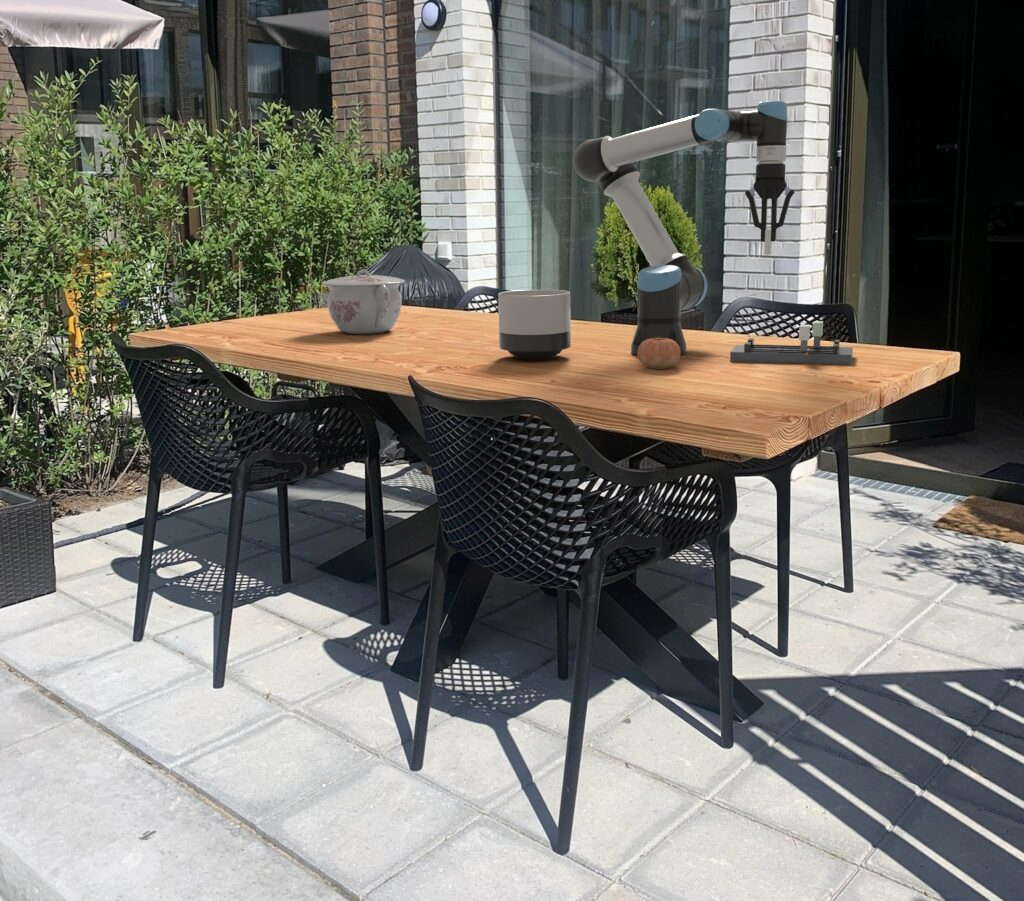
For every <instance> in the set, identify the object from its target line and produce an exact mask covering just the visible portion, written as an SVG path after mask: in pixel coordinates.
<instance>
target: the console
mask: <svg viewBox="0 0 1024 901" xmlns="http://www.w3.org/2000/svg"><path fill="white" fill-rule="evenodd" d="M840 341H841V340H840V339H834V341H833V342H834V343H833V345H832V346H831V345H820V347H813V346H814V345H807V351H800V347H801V345H789V344H788V345H787V344H755V338H754V337H753V338H752V337H749V338H748V339H747V341H746V342H745V343H744V344H736V345H735V346H734V347H733V349H732V350H731V351H730V353H729V358H730V359H729V361H730V362H734V363H735V362H736V363H766V364H767V363H768V364H769V363H774V364H805V365H806V364H807V365H808V364H810V365H811V364H812V365H813V364H814V365H843V366H845V365H846V366H849V365H850V366H851V365H852V362H853V353H854V347H853V346H847V347H846V346H840Z"/></svg>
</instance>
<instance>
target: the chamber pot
mask: <svg viewBox="0 0 1024 901" xmlns="http://www.w3.org/2000/svg"><path fill="white" fill-rule="evenodd" d="M363 273H364V274H363ZM405 282H406V280H405V279H403V278H400V277H396V276H395V277H394V276H390V275H389V276H388V275H381V274H380V275H379V274H370V272H369V271H368V270H367V269H364V268H362V269H360V270H358V271H357V272H356V274H354V275H348V276H340V277H336V278H332V279H327V280H325V281H323V282H322V283H321V285H322V286H324V287H327V288H328V290H329V293H328V295H327V297H326V306H327V308H328V309H327V310H328V312H329V313H328V314H329V317H330V319H331V320H332V322H333V323H334V325H335V327H336V328H337V329H338V330H339V331H341V332H343V333H346V334H348V335H358V336H359V335H377V334H383V333H386V332H388V331H391V330H392V329H393V328H394V326H395V325H396V323H397V321H398V319H399V317H400V314H401V311H402V309H401V308H402V302H403V301H402V300H403V298H402V294H401V291H399V286H400V284H404V283H405Z"/></svg>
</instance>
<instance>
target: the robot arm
mask: <svg viewBox="0 0 1024 901" xmlns="http://www.w3.org/2000/svg"><path fill="white" fill-rule="evenodd" d="M787 128H788V106H787V102H785V101H782V100H766V101H760V102H758V104H757V108H756V110H749V111H748V110H747V111H734V110H728V109H727V110H726V109H719V108H717V107H716V108H715V107H713V108H707V109H704V110H702V111H701V112H700V113H698V114H695V115H691V116H687V117H683V118H680V119H677V120H672V121H670V122H665V123H663V124H659V125H655V126H651V127H648V128H645V129H641V130H638V131H634V132H630V133H627V134H624V135H620V136H617V137H611V136H610V135H606V136H602V137H598V138H594V139H588V140H585V141H583V142H582V143H581V144H579V146H578V147H577V149H575V152H574V155H573V159H572V160H573V167H574V170H575V172H576V174H577V175H578V176H579V177H580V178H581V179H583V180H584V181H587V182H591V183H597V184H598V185H599V187H600V189H601V191H602V193H603V195H604V196H607V197H611V198H612V199H613V201H614V203H615V205H616V206H617V208H618V210H619V213H620V214H621V216H622V218H623V219H624V221H625V223H626V224H627V226H628V228H629V230H630V231H631V233H632V235H633V237H634V238H635V241H636V242H637V244H638V246H639V247H640V249H641V252H642V253H643V254H644V256H645V258H646V261H647V262H648V263H649V265H650V266H648V267H644V268H642V269H641V270H640V271H639V272H638V275H637V282H636V285H637V286H636V287H637V327H636V330H635V332H634V334H633V338H632V342H631V346H630V353H631V354H633V355H636V356H638V355H637V351H638V348H639V346H640V344H641V343H642V342H643V341H645V340H647V339H650V338H654V337H655V338H658V336H659V338H668V339H671V340H674V341H675V342H676V343H677V344H678V345H679V348H680V356H681V355H685V354H687V342H686V340H685V335H684V332H683V330H682V325H681V311H687V310H690V309H692V308H694V307H696V306H698V305H699V304H701V302H703V300H704V299H705V296H706V295H707V291H708V281H707V277H706V275H705V274H704V273H703V271H702V270H701V269H700V268H698V267H695V266H693V265H692V263H691V261H690V259H689V257H688V256H687V255H686V254H684V253H680V252H679V251H678V249H677V247H676V246H675V244H674V242H673V240H672V239H671V237H670V235H669V233H668V231H667V230H666V228H665V226H664V225H663V223H662V221H661V219H660V217H659V216H658V214H657V212H656V210H655V208H654V207H653V205H652V203H651V201H650V199H649V198H648V196H647V195H646V193H645V190H644V189H643V188H642V186H641V184H640V182H639V179H640V175H641V172H640V171H639V169H638V162H640V161H644V160H648V159H651V158H654V157H658V156H661V155H666V154H669V153H673V152H676V151H680V150H683V149H687V148H688V149H689V148H691V147H694V146H699V145H704V144H707V143H712V142H715V141H716V142H717V143H719V142H720V143H730V142H744V141H756V154H755V155H756V156H755V157H756V159H755V160H756V161H755V162H757V164H756V165H755V181H754V183H753V187H752V188H750V189H748V190H746V191H745V192H744V195H745V196H746V198H747V199H748V202H749V206H750V212H751V218H752V222H753V225H754V227H755V228H758V229H760V242H763V243H764V255H765V256H766V255H772V242H773V243H774V242H776V240H777V229H779V228H780V227H783V226H784V223H785V220H786V217H787V212H788V209H789V206H790V201H791V199H792V197H793V196H794V194H795V190H794V189H791V188H790V187H789V186H788V185H787V184H788V183H787V181H786V164H785V163H784V162H785V161H787V160H786V157H787V131H788V130H787ZM755 192H756V194H757V196H759V198H760V199H761V210H760V211H761V214H760V215H761V216H760V217H761V218H760V220H759V216H758V214H759V213H758V210H757V206H756V205H757V204H756V200H755V198H754V197H755V196H756V194H755ZM783 193H784V195H785V198H784V201H783V204H782V208H781V211H780V214H779V216H780V217H779V220H777V219H778V218H777V217H778V199H780V197H781V195H782V194H783ZM768 200H771V210H770V211H771V212H770V229H769V228H768V229H767V221H768V220H767V217H768ZM777 221H778V222H777Z"/></svg>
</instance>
